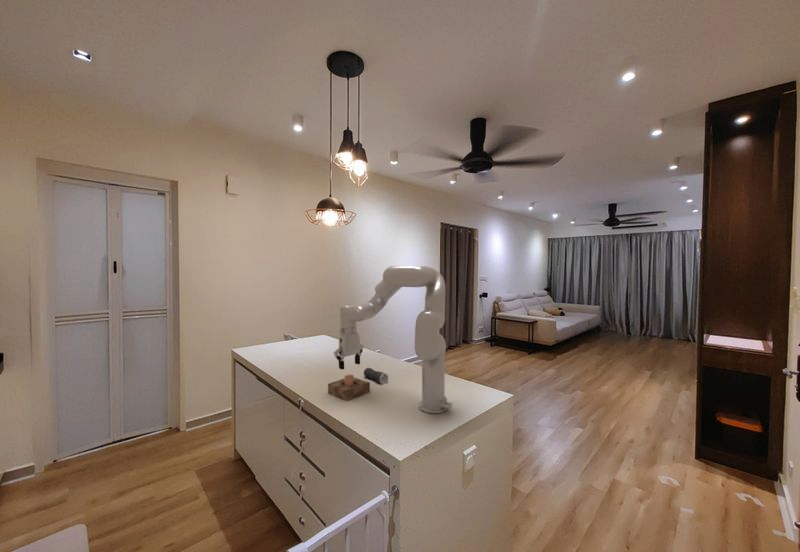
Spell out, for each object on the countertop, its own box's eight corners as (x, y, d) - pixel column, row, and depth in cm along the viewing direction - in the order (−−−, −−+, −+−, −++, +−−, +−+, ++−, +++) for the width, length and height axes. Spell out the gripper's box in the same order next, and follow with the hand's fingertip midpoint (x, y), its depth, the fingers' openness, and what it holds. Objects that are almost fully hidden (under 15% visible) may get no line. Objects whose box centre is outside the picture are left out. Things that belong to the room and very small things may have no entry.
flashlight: (362, 377, 170) (362, 368, 170) (370, 375, 174) (370, 365, 174) (380, 385, 159) (380, 374, 159) (388, 382, 162) (388, 372, 162)
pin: (355, 392, 149) (354, 375, 149) (348, 394, 146) (348, 378, 146) (349, 390, 152) (349, 374, 152) (343, 392, 149) (342, 376, 149)
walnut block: (369, 391, 150) (369, 382, 150) (346, 401, 139) (346, 391, 139) (351, 385, 159) (351, 376, 159) (328, 393, 148) (328, 383, 148)
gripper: (338, 334, 140) (340, 372, 140) (367, 328, 153) (368, 363, 153) (328, 332, 145) (330, 369, 145) (357, 327, 157) (358, 361, 158)
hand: (349, 366), depth 149 cm, fingers open, 9 cm apart
